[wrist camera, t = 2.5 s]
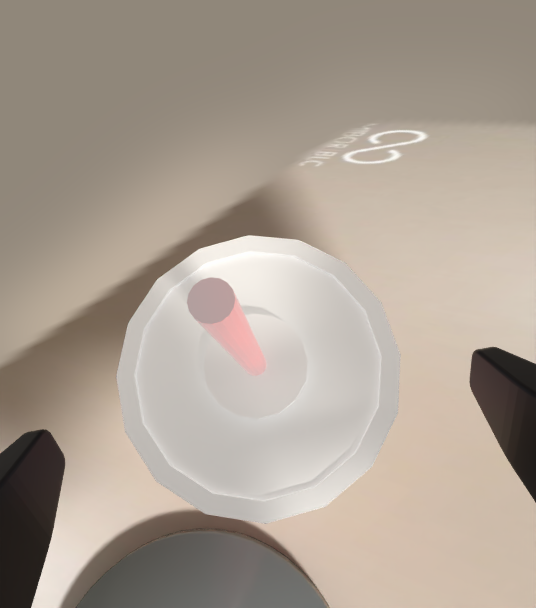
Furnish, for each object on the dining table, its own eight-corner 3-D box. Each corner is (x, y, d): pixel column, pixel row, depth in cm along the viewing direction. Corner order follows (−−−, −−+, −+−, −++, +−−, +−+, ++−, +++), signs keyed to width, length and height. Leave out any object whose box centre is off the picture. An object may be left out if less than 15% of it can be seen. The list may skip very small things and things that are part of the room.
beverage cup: (205, 474, 17) (-160, 700, 3) (201, 327, 18) (-50, 76, 5) (356, 464, 16) (637, 665, 3) (338, 316, 18) (468, 20, 5)
